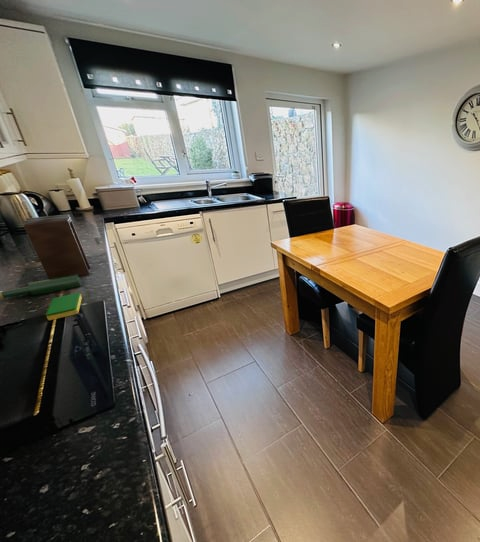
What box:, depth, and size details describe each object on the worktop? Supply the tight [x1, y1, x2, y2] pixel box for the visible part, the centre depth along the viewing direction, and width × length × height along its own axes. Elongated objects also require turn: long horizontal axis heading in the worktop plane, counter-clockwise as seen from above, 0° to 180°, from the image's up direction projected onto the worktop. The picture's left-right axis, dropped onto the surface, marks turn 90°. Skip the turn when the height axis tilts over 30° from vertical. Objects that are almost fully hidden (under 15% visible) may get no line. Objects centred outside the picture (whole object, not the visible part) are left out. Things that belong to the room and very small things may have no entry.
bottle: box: [0, 274, 82, 301], centre depth 105 cm, size 21×5×5 cm
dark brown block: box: [23, 214, 92, 280], centre depth 116 cm, size 12×10×25 cm
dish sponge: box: [45, 292, 83, 321], centre depth 96 cm, size 7×14×2 cm, turn 38°
